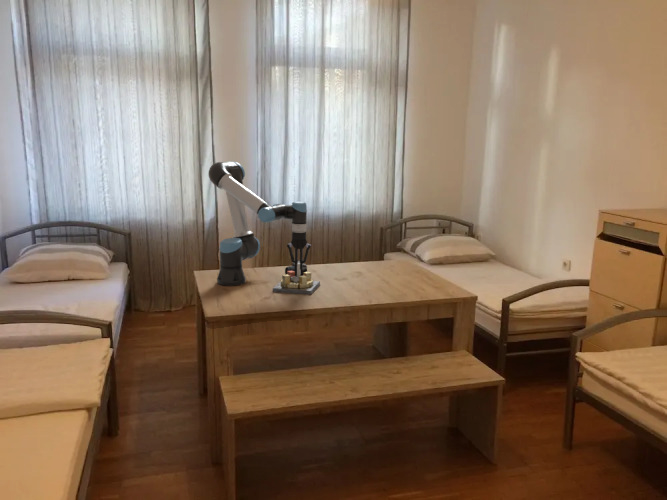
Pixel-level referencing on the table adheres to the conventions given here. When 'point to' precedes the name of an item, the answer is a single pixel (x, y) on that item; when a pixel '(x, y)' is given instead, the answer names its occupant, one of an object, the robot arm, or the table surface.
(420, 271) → the table surface
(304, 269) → the camera
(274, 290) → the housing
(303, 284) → the octagonal wooden frame
